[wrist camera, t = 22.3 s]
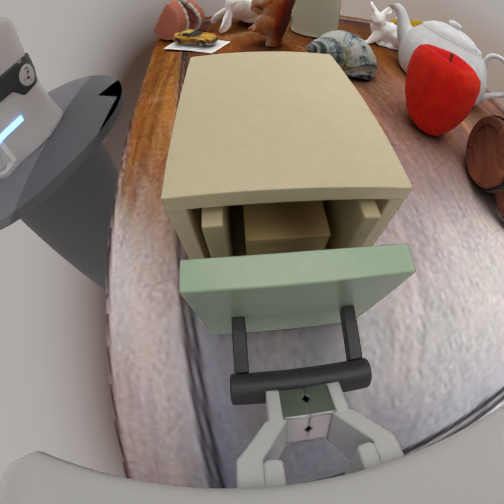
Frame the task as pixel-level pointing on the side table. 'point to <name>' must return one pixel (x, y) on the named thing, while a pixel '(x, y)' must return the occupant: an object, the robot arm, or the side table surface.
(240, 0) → the rabbit
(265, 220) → the block
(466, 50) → the teapot
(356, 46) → the seashell
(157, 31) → the dentures
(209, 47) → the toy car
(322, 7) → the can
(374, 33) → the rabbit figurine
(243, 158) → the cabinet
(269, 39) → the figurine
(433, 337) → the side table surface
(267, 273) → the drawer
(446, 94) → the apple
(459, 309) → the side table surface
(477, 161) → the mug
